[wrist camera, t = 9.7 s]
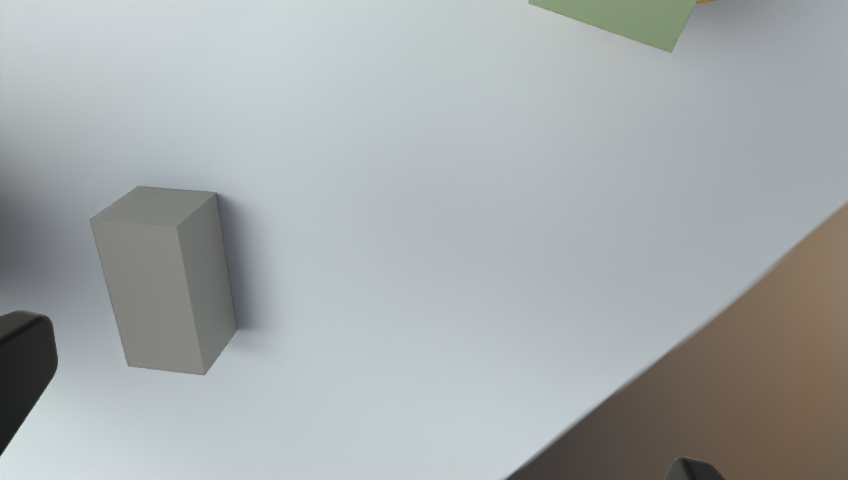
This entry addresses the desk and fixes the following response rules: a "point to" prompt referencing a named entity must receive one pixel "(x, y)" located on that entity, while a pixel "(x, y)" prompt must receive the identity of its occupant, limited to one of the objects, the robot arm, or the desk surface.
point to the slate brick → (167, 277)
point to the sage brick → (629, 17)
